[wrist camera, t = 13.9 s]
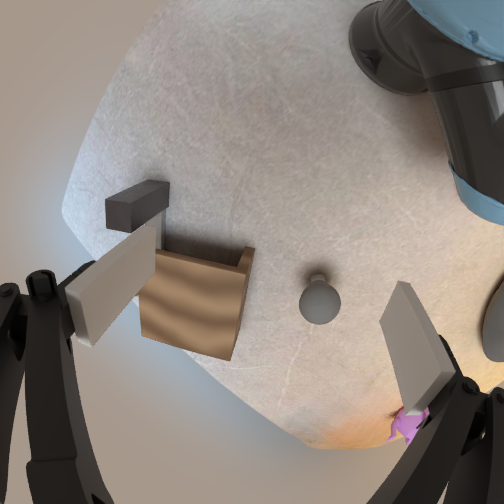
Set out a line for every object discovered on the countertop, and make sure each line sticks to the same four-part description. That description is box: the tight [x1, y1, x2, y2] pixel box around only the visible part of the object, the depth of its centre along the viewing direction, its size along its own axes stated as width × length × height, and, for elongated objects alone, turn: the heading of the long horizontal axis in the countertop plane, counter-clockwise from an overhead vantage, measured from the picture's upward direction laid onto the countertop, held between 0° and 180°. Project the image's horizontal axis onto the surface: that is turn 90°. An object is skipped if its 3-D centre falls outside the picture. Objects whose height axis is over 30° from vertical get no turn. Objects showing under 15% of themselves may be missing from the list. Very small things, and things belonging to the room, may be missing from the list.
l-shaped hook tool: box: [105, 180, 170, 250], centre depth 43 cm, size 22×4×12 cm, turn 172°
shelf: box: [138, 247, 255, 361], centre depth 46 cm, size 17×16×8 cm
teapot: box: [386, 407, 429, 445], centre depth 55 cm, size 12×14×9 cm
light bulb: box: [299, 274, 341, 325], centre depth 42 cm, size 6×6×10 cm
